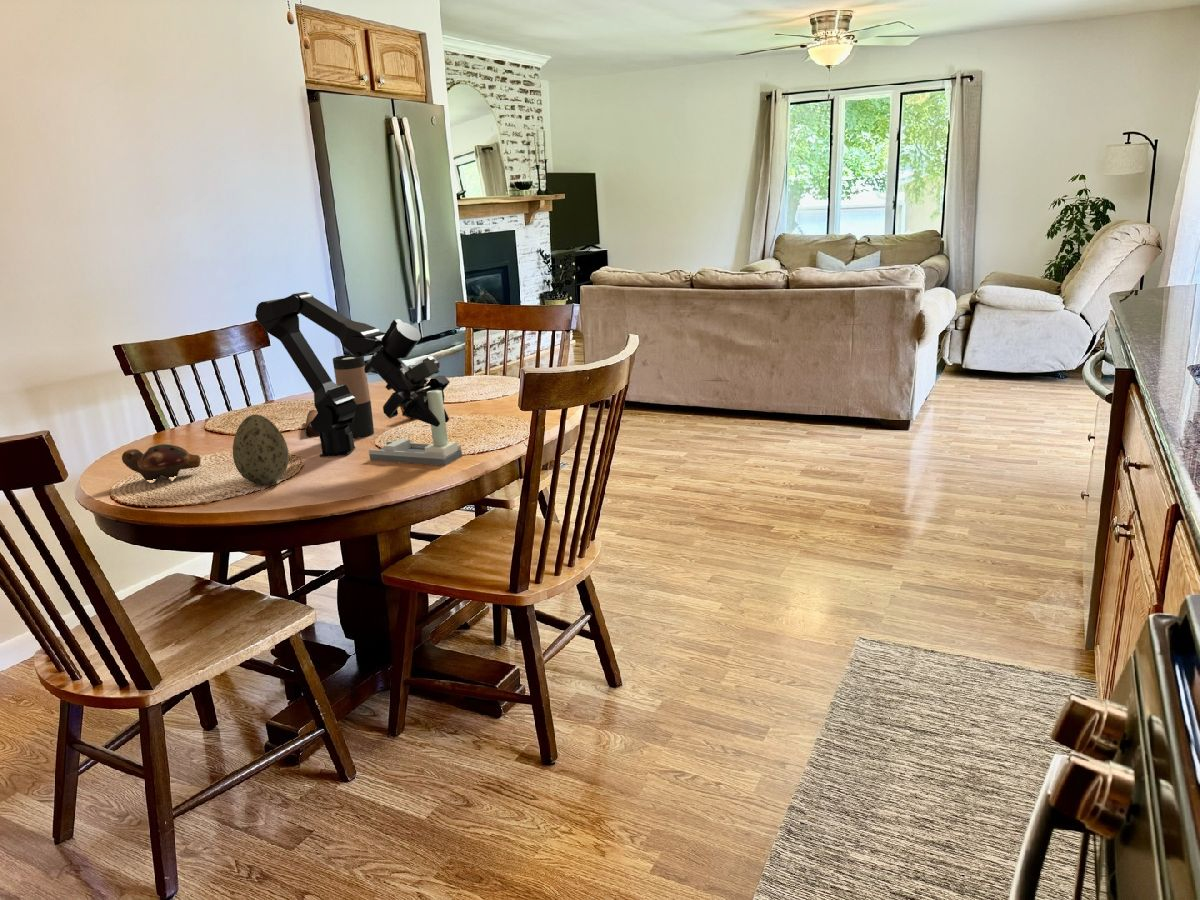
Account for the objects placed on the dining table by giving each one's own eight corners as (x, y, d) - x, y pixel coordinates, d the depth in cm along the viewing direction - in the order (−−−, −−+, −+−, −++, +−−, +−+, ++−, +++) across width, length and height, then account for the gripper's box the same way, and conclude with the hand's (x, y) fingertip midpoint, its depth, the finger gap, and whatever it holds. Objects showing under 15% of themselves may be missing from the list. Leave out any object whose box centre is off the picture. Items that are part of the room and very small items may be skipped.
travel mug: (346, 440, 205) (334, 361, 199) (342, 433, 212) (330, 356, 206) (377, 435, 208) (366, 357, 202) (372, 429, 215) (361, 352, 209)
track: (370, 460, 187) (367, 445, 186) (388, 451, 193) (386, 437, 192) (445, 465, 179) (443, 450, 178) (462, 456, 185) (460, 441, 184)
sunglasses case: (341, 432, 213) (323, 412, 210) (318, 449, 212) (301, 429, 209) (339, 417, 229) (323, 399, 226) (318, 433, 228) (302, 414, 226)
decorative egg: (255, 476, 181) (242, 409, 176) (302, 474, 179) (290, 407, 175) (229, 492, 170) (215, 422, 166) (278, 491, 169) (265, 420, 165)
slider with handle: (425, 456, 181) (417, 394, 177) (438, 449, 186) (431, 388, 182) (445, 457, 180) (437, 394, 176) (457, 450, 184) (450, 389, 180)
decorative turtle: (125, 480, 183) (120, 445, 182) (200, 471, 191) (196, 437, 189) (125, 490, 175) (120, 453, 173) (204, 479, 182) (199, 444, 181)
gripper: (386, 355, 169) (438, 409, 168) (437, 339, 186) (484, 389, 185) (361, 391, 175) (411, 444, 174) (412, 373, 191) (458, 421, 190)
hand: (443, 423), depth 180 cm, fingers closed on slider with handle, 3 cm apart
